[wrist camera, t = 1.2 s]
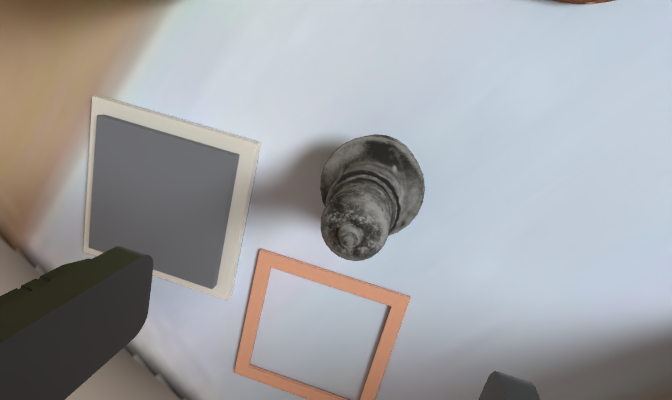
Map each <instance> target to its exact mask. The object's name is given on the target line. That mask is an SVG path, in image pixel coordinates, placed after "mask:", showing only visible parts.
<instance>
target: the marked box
mask: <svg viewBox="0 0 672 400" xmlns="http://www.w3.org/2000/svg"><path fill="white" fill-rule="evenodd" d="M271 267H272V268H275V269H279V270H282V271H285V272H288V273H291V274H294V275H297V276H300V277H303V278H306V279H309V280H312V281H315V282H318V283H322V284H325V285H328V286H331V287H334V288H337V289H340V290H343V291H346V292H349V293H352V294H355V295H358V296H361V297H365V298H368V299H371V300H374V301H377V302H380V303H383V304H386V305H389V306H391V309H390V312H389V314H388V317H387V320H386V323H385V326H384V329H383V332H382V335H381V338H380V341H379V344H378V347H377V350H376V353H375V356H374V359H373V362H372V365H371V368H370V371H369V374H368V377H367V380H366V383H365V386H364V389H363V392H362V395H361V397H360V400H375V397H376V394H377V391H378V388H379V386H380V383H381V380H382V377H383V374H384V371H385V369H386V366H387V363H388V360H389V357H390V354H391V351H392V349H393V346H394V343H395V340H396V337H397V334H398V332H399V329H400V326H401V323H402V320H403V317H404V315H405V312H406V309H407V306H408V303H409V300H410V296H407V295H404V294H401V293H398V292H395V291H392V290H388V289H385V288H382V287H379V286H376V285H373V284H370V283H367V282H364V281H360V280H357V279H354V278H351V277H348V276H345V275H342V274H339V273H335V272H332V271H329V270H326V269H323V268H320V267H317V266H314V265H311V264H307V263H304V262H301V261H298V260H295V259H292V258H289V257H286V256H283V255H279V254H276V253H273V252H270V251H267V250H264V249H261V250H260V252H259V256H258V261H257V266H256V271H255V276H254V280H253V285H252V290H251V295H250V299H249V304H248V309H247V314H246V319H245V323H244V328H243V333H242V338H241V342H240V347H239V352H238V357H237V362H236V366H235V371H234V373H237V374H239V375H242V376H245V377H248V378H250V379H253V380H256V381H259V382H262V383H264V384H267V385H270V386H273V387H275V388H278V389H281V390H284V391H287V392H289V393H292V394H295V395H298V396H300V397H303V398H306V399H309V400H349V399H346V398H343V397H340V396H337V395H334V394H332V393H329V392H326V391H323V390H320V389H318V388H315V387H312V386H309V385H306V384H304V383H301V382H298V381H295V380H292V379H289V378H287V377H284V376H281V375H278V374H275V373H273V372H270V371H267V370H264V369H261V368H259V367H256V366H253V365H250V360H251V356H252V351H253V347H254V342H255V338H256V333H257V329H258V324H259V320H260V315H261V311H262V306H263V302H264V297H265V293H266V288H267V284H268V279H269V275H270V270H271Z"/></svg>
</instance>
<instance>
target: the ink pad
mask: <svg viewBox="0 0 672 400" xmlns="http://www.w3.org/2000/svg"><path fill="white" fill-rule="evenodd" d="M260 146H261V142H259V141H255V140H252V139H248V138H245V137H241V136H238V135H234V134H231V133H228V132H224V131H221V130H217V129H214V128H210V127H207V126H203V125H200V124H197V123H193V122H190V121H186V120H183V119H179V118H176V117H172V116H169V115H166V114H162V113H159V112H155V111H152V110H148V109H145V108H141V107H138V106H135V105H131V104H128V103H124V102H121V101H117V100H114V99H110V98H107V97H104V96H92V111H91V128H90V145H89V162H88V179H87V196H86V213H85V231H84V248H83V252H85V253H88V254H91V255H94V256H99V255H100V254H102V253H104V252H106V251H108V250H110V249H112V248H114V247H116V246H123V247H126V248H129V249H132V250H135V251H138V252H141V253H144V254H147V255H150V256H151V257H152V259H153V274H152V275H153V276H156V277H159V278H162V279H165V280H168V281H171V282H174V283H176V284H179V285H182V286H185V287H188V288H191V289H194V290H197V291H200V292H203V293H206V294H209V295H212V296H215V297H218V298H221V299H224V300H228V299H229V298H230V297H231V296H232V292H233V286H234V281H235V276H236V271H237V266H238V260H239V255H240V250H241V245H242V240H243V234H244V229H245V224H246V219H247V214H248V208H249V203H250V198H251V193H252V188H253V183H254V177H255V172H256V167H257V162H258V157H259V151H260Z"/></svg>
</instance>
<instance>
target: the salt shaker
mask: <svg viewBox="0 0 672 400" xmlns="http://www.w3.org/2000/svg"><path fill="white" fill-rule="evenodd" d="M320 190H321V195H322V200H323V203H324V205H325V207H326V208H325V209H324V212H323V215H322V217H321V232H322V237H323V239H324V241H325V243H326V245H327V246H328V247H329V248H330V250H331V251H332V252H334V253H335V254H336V255H338V256H339V257H342V258H344V259H346V260H352V261H360V260H365V259H368V258H370V257H372V256H373V255H375V254H376V253H378V252H379V251H380V249H381V248H382V247H383V246H384V244H385V242H386V240H387V237H388V236H389V235H391V234H394V233H397V232H399V231H400V230H402V229H403V228H405V227H406V226H407V225H409V224H410V223H411V221H412V220H413V219H414V218H415V216H416V215H417V214H418V212H419V210H420V207H421V205H422V203H423V198H424V191H425V186H424V178H423V173H422V171H421V169H420V166H419V164H418V162H417V160H416V159H415V158H414V156H413V154H412V153H411V151H410V150H409V149H408V148H407V146H405V145H404V144H403V143H401V142H400V141H399V140H397V139H394V138H392V137H389V136H386V135H370V136H365V137H360V138H355V139H353V140H351V141H349V142H347V143H345V144H343V145H342V146H341V147H339V148H338V149H337V150H336V151H335V152H333V154H332V155H331V156H330V158H329V159H328V161H327V162H326V164H325V167H324V169H323V172H322V175H321V186H320Z"/></svg>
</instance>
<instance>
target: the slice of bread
mask: <svg viewBox="0 0 672 400" xmlns="http://www.w3.org/2000/svg"><path fill="white" fill-rule="evenodd" d="M555 1H561V2H569V3H579V4H593V3H601V2H609V1H614V0H555Z"/></svg>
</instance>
